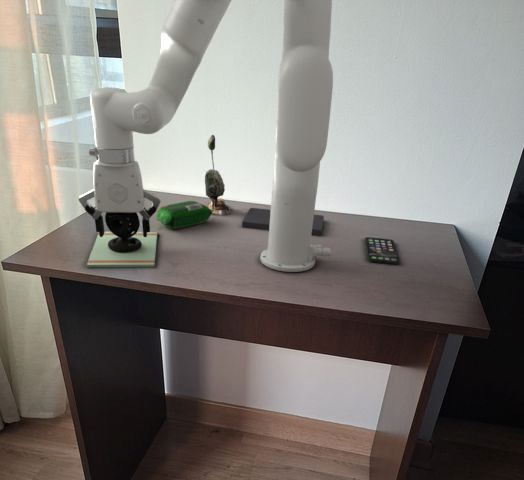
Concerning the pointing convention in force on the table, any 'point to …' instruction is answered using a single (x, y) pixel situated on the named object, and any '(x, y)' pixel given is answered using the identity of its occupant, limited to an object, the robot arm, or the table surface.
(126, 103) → the robot arm
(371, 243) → the smartphone
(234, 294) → the table surface
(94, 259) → the towel
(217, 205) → the plant with pod
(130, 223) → the webcam
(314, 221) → the notebook
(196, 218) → the snack package
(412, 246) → the table surface
